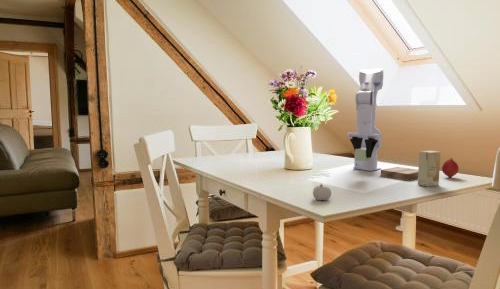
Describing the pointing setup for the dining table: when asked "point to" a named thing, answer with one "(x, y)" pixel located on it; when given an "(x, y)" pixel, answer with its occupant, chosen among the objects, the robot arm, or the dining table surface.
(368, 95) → the robot arm
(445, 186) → the dining table surface
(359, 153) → the sage cube
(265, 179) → the dining table surface
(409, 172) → the light brown block
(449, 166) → the onion
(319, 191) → the grey pumpkin
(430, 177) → the skincare box
